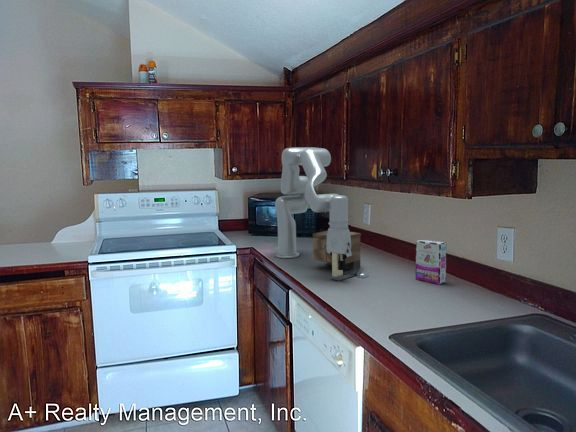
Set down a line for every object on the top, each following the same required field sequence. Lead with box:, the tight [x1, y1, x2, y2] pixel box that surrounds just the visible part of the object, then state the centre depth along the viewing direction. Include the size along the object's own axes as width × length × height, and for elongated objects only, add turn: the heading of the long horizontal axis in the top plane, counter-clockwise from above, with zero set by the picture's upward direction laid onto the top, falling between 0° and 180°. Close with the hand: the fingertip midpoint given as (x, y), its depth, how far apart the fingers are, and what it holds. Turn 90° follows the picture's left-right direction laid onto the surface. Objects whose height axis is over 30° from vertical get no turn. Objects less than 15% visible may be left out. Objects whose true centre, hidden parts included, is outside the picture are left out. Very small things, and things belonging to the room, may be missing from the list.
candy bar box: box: [415, 239, 447, 285], centre depth 173 cm, size 11×5×16 cm, turn 40°
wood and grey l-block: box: [330, 252, 363, 281], centre depth 183 cm, size 4×16×12 cm, turn 134°
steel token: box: [356, 271, 370, 279], centre depth 184 cm, size 5×5×2 cm
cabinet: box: [312, 230, 362, 270], centre depth 197 cm, size 17×16×16 cm
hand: (339, 268), depth 179 cm, fingers closed on wood and grey l-block, 2 cm apart
